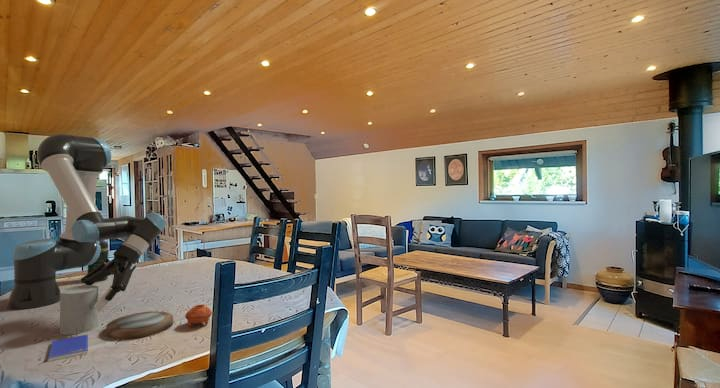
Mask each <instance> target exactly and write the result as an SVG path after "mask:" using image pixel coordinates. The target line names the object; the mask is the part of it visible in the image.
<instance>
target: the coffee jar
mask: <svg viewBox="0 0 720 388" xmlns="http://www.w3.org/2000/svg"><path fill="white" fill-rule="evenodd" d="M99 243H100V244H99V245H100V247H101V251H100V255H99V257H98V259H97V260H96V262H94V263H93V264H91V265H88V266H87V274H88V273H89V272H91V271H92V270H93V269H95V268H96V267H97V266H99V265H100V264H101V263H102V262H103V261H104V260H105V259H109V243H108V241H106V240H100V241H99ZM108 277H109V276H106V277H104V278H102V279H101V280H99V281H98V282H101V281H104V280H105V281H106V280H107V279H108Z"/></svg>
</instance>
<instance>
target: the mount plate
mask: <svg viewBox="0 0 720 388" xmlns="http://www.w3.org/2000/svg"><path fill="white" fill-rule="evenodd" d="M173 324H174V316H173V314H172V313H170V312H166V311H159V310H157V311H154V310H153V311H144V312H143V311H142V312H137V313H132V314H131V313H130V314H127V315H124V316H121V317H118V318H115V319H113V320H111V321H110V322H109V323H107V324H106V327H105V328H106V330H105V332H106V336H107V337H109V338H110V339H115V340H131V339H132V340H133V339H140V338H146V337H151V336H153V335H154V336H155V335H156V334H160V333H163V332H165V331H166V330H168V329H170V328H171V327H172V326H173Z"/></svg>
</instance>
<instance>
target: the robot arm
mask: <svg viewBox="0 0 720 388" xmlns="http://www.w3.org/2000/svg"><path fill="white" fill-rule="evenodd" d="M36 154H37V155H36V156H37V161H38V164H39V165H40V167H41V169H42V170H43V171H44V172H47V173H48V174H49V177H50V178H51V180H52V182H53V183H54V185H55V188H56V189H57V191H58V193H59V195H60V196H61V198H62V200H63V201H64V202H63V203H64V204H65V206H66V207H67V210H66V216H65V227H64V231H63V232H62V233H60V234H59V238H58V240H57V241H56V239H54V238H42V239H33V240H30V241H29V240H28V241H26V242H22V243H20V244H18V245H16V246H15V248H14V253H13V254H14V255H13V259H14V260H13V265H14V266H13V271H14V273H13V277H14V280H13V281H14V283H13V287H12V290H11V292H10V294H9V297H8V298H7V308H9V309H11V310H12V309H14V310H17V309H18V310H22V309H33V308H38V307H43V306H45V307H46V306H48V305H52V304H54V303H55V304H56V303H58V302H60V291H61V289H60V287H59V285H58V282H57V280H56V279H57V278H56V275H57V274H56V273H57V272H61V271H66V270H72V269H78V268H79V269H81V268H83V267H88V265H91V264H93V263H94V262H96V260H97V259H98V257H99V255H100V251H101V247H100V245H99V244H100V243H99V241H100V240H103V241H106V240H116V239H124V240H123V242H121V245H119V246H118V247H117V249H116V250H115V251H114V252H113V259H111V260H110V259H109V258H108V259H105V260H104V261H103V262H102V263H101V264H100V265H99V266H97V267H96V268H95V269H93V270H92V271H91V272H89V273H88V272H87V274H85V275H84V276H83V277H82V278H80V281H81V282H82V283H81V284H80V286H84V285H94V284H95V283H98V282H100V281H99V280H101V279H102V278H104V277H106V276H108V277H109V276H113V279H112V285H110V286H109V287H108V288H107V290H106V291H105V292H104V293H103V294H102V295H101V297H100V298H98V302H97V303H96V304H95V305H94V306H93V307H94V308H96V309H97V310H98V312H102V311H103V310H104V309H105V308H106V307H107V305H108V304H109V303H110V302H111V301H112V300H113V298H114V297H115V296H117V294H118V293H119V292H125V291H126V289H127V287H128V286H129V285H128V284H129V282H130V280H131V277H132V275H133V272H134V271H135V269H136V268H137V266H136V263H137V262H138V261H139V259H140V258H141V256H143V254H144V253H145V252H146V251H147V250H148V248H149V247H150V246H151V245H152V244H153V243H154V242H155V240H156V239H157V238H158V237H159V235H160V234H161V233H162V232H163V231H164V229H165V228H166V226H168V225H167V224H168V222H167V219H166V218H165V217H164V216H163V215H161V214H159V213H158V212H155V211H151V212H148V213H147V214H146V215H145V217H135V216H130V215H126V216H125V215H124V216H123V215H122V216H118V217H110V218H109V217H108V218H107V217H106V218H104V216H103V215H102V214H101V212H100V210H99V209H98V207H97V204H96V203H95V202H96V201H95V200H96V193H97V192H96V191H97V184H98V176H99V175H100V174H102V173H103V171H104V168H107V167H108V166H109V165H110V163H111V162H112V151H111V148H110V146H109V144H108V143H107V142H106V141H105V140H104V139H101V138H100V139H99V138H96V137H92V136H91V137H89V136H79V135H75V134H74V135H72V134H68V133H57V134H53V135H49V136H47V137H46V138H45V139H44V140H42V142H41V143H40V144H39V146H38V149H37V153H36ZM101 281H102V280H101Z"/></svg>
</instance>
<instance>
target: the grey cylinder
mask: <svg viewBox="0 0 720 388" xmlns="http://www.w3.org/2000/svg"><path fill="white" fill-rule="evenodd" d="M98 300H99V286H98V285H94V284H92V285H84V286H81V285H76V286H72V287H71V286H70V287H67V288H66V287H65V288H64V289H60V301H59V306H60V307H59V334H61V335H65V336H66V335H70V336H71V335H79V334H83V333H87V332H90V331H93V330H95V329H97V328H98V327H99V310H97V309H96V308H94V307H93V306H94V305H95V304H96V303H97V302H98Z"/></svg>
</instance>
